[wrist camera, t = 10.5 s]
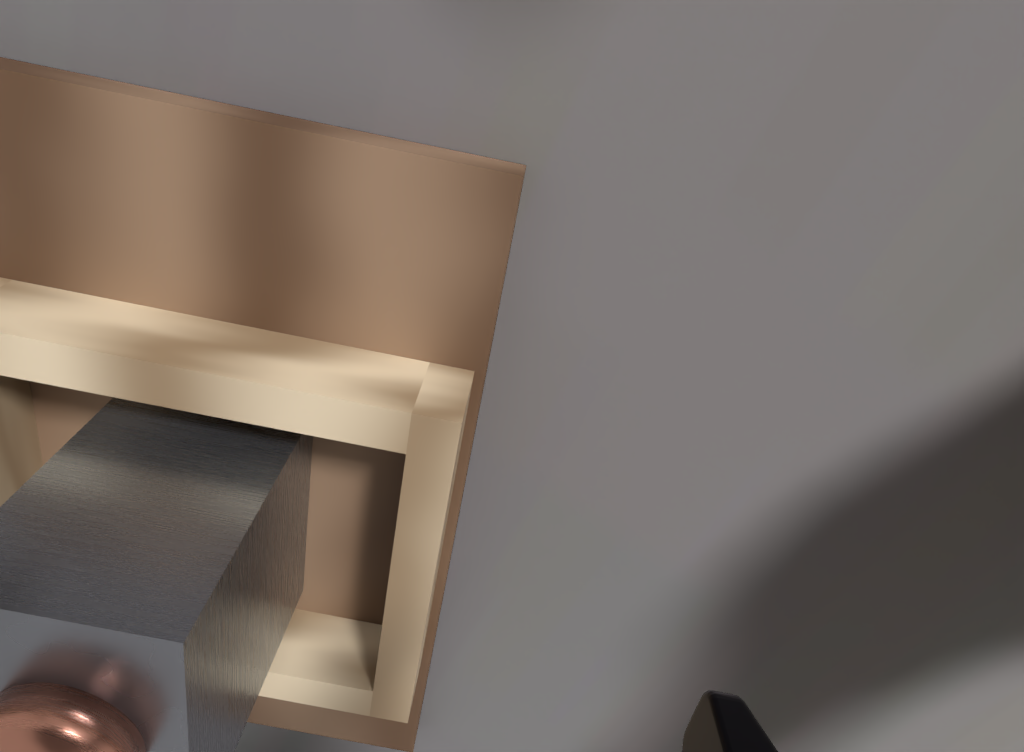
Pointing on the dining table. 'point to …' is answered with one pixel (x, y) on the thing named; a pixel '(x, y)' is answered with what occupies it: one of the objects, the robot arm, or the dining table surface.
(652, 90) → the dining table surface
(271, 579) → the block with copper knob
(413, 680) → the chassis bay
